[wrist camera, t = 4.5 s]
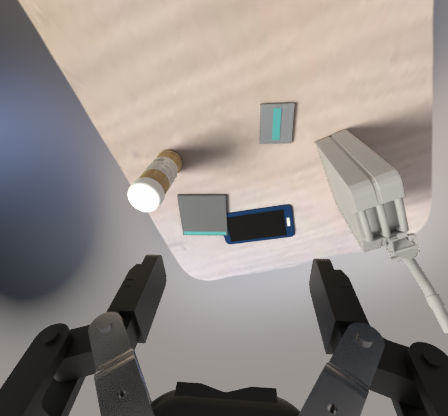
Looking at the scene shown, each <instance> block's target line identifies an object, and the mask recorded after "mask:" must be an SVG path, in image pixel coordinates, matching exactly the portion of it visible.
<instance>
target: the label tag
mask: <svg viewBox="0 0 448 416" xmlns="http://www.w3.org/2000/svg"><path fill="white" fill-rule="evenodd" d="M294 106H295V103H276V104H261V110H260V144H280V143H291V141H292V129H293V118H294Z"/></svg>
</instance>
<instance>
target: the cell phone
mask: <svg viewBox="0 0 448 416" xmlns="http://www.w3.org/2000/svg"><path fill="white" fill-rule="evenodd" d="M293 235H294V222H293V213H292V207H291V205H289V204H288V205H279V206H272V207H266V208H259V209H252V210H245V211H238V212H232V213H227V235H224V237H225V240H226V242H227V243H228V244H236V243H244V242H252V241H260V240H268V239H276V238H284V237H291V236H293Z"/></svg>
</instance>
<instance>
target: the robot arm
mask: <svg viewBox="0 0 448 416" xmlns="http://www.w3.org/2000/svg"><path fill="white" fill-rule="evenodd" d="M165 285H166V273H165V268H164V264H163V260H162V256H161V255H146V256H145V258H144V260H143V262H142V264H136V265H135V266H134V267H133V268H132V269H131V270H129V272H128V274H127V276H126V278H125V280H124V281H123V283H122V285H121V287H120V288H119V290H118V292H117V294H116V296H115V298H114V299H113V301H112V303H111V305H110V307H109V309H108V310H107V312H106V313H103V314H101V315H100V316H98V317H97V318H95V319H94V320H93V322H92V323H91V324H90V325H87V326H84V327H80V328H75V329H71V330H69V328H68V326H67V325H65V324H61V323H59V324H54V325H51V326H49V327H47V328H45V329H44V330H43V331H41V332H40V333H39V334H38V335H37V336H36V338H35V339H34V340H33V342H32V343H31V345H30V347H29V348H28V349H27V351H26V352H25V354H24V355H23V356H22V358H21V359H20V361H19V362H18V364H17V365H16V367H15V368H14V370H13V371H12V373H11V374H10V376H9V377H8V378H7V380H6V381H5V383H4V384H3V386H2V387H1V389H0V416H68V415H69V413H70V411H71V408H72V406H73V404H74V402H75V399H76V397H77V395H78V393H79V390H80V388H81V386H82V383H83V381H84V379H85V377H86V376H88V375H91V374H94V380H95V385H96V391H97V396H98V402H99V407H100V412H101V416H360V414H361V412H362V409H363V406H364V404H365V401H366V398H367V395H368V392H369V390H372V391H374V392H377V393H379V394H382V395H384V396H387V397H389V398H391V399H392V402H393V405H394V408H395V411H396V413H397V416H448V356H447V355H446V354H445V353H444V352H443V351H441V350H440V349H438V348H437V347H435V346H433V345H431V344H428V343H424V342H416V343H413V344H412V345H411V346H410V348H409V347H406V346H403V345H400V344H397V343H394V342H391V341H388V340H386V339H384V338H383V337H382V336H381V335H380V333H379V332H378V331H377V330H376V329H374V328H373V327H371V326H370V325H369V323H368V320H367V318H366V316H365V314H364V312H363V309H362V307H361V305H360V303H359V300H358V298H357V296H356V293H355V291H354V289H353V287H352V284H351V282H350V280H349V278H348V277H347V276H346V275H345V274H344V273H343V272H342V271H341V270H334V269H333V266H332V263H331V261H330V260H329V259H314V260H313V264H312V269H311V275H310V281H309V285H310V293H311V297H312V301H313V305H314V309H315V313H316V317H317V321H318V324H319V328H320V332H321V336H322V340H323V344H324V348H325V352H326V354H333V356H332V358H331V359H330V361H329V363H327V364H326V365H325V367H324V368H323V370H322V372H321V374H320V376H319V378H318V379H317V381H316V383H315V385H314V387H313V389H312V391H311V393H310V394H309V396H308V398H307V400H306V402H305V404H304V406H303V407H302V409H301V411H299V410H298V409H297V408H296V407H294V406H293V405H292V404H290V403H288V402H287V401H285V400H284V399H282V398H279V397H277V393H276V389H275V388H259V387H249V388H244V389H240V390H235V391H231V392H222V391H219V390H217V389H214V388H211V387H209V386H206V385H204V384H201V383H187V382H177V386H176V390H173V391H170V392H167V393H165V394H163V395H162V396H160V397H158V398H157V399H155V400H154V401H153V402H152V400H151V397H150V394H149V391H148V389H147V386H146V383H145V380H144V378H143V374H142V372H141V368H140V366H139V363H138V360H137V357H136V354H135V351H134V350H135V347H136V345H137V343H145V342H146V339H147V336H148V333H149V331H150V328H151V325H152V322H153V319H154V316H155V314H156V310H157V308H158V305H159V302H160V300H161V297H162V294H163V291H164V288H165Z"/></svg>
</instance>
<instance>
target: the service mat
mask: <svg viewBox="0 0 448 416" xmlns="http://www.w3.org/2000/svg"><path fill="white" fill-rule="evenodd" d="M177 197H178V204H179V210H180V217H181V223H182V229H183V235H227V211H226V194H190V195H178V196H177Z"/></svg>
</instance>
